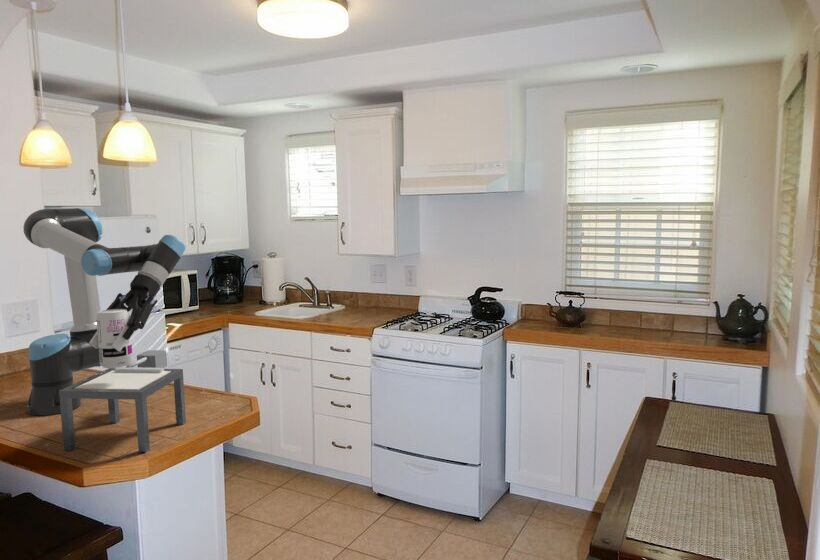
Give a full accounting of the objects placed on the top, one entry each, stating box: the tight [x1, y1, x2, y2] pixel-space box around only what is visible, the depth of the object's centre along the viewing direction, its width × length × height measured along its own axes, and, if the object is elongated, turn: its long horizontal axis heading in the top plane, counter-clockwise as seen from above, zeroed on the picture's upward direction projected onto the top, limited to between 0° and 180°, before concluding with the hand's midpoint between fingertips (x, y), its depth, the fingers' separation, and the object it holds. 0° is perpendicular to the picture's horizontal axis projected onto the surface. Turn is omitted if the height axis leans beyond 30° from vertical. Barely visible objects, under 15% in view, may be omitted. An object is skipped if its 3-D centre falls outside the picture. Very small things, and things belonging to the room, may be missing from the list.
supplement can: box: [96, 309, 134, 369], centre depth 167 cm, size 8×8×15 cm
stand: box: [59, 368, 187, 454], centre depth 173 cm, size 23×23×16 cm
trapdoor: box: [74, 349, 171, 390], centre depth 180 cm, size 18×35×5 cm, turn 174°
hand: (104, 347), depth 164 cm, fingers closed on supplement can, 8 cm apart
